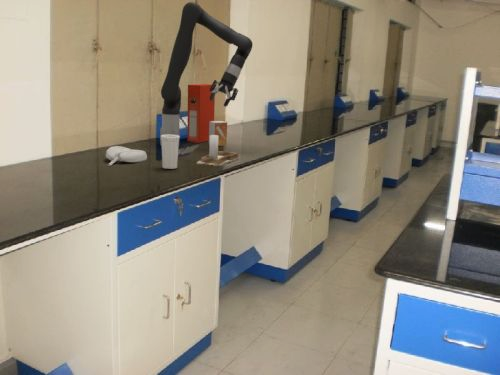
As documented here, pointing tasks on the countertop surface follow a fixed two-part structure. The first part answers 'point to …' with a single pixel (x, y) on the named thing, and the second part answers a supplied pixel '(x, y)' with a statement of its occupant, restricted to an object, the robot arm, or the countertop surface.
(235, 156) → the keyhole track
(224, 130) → the small box
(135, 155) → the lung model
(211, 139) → the post
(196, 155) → the countertop surface
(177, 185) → the countertop surface
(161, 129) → the robot arm
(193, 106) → the file binder
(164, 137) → the cup
